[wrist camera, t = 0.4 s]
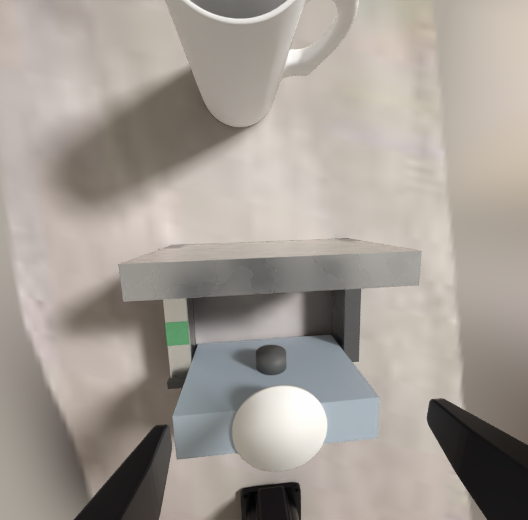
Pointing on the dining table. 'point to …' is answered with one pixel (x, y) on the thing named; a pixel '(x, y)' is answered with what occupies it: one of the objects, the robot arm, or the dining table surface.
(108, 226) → the dining table surface
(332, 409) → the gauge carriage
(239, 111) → the mug
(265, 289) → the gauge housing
